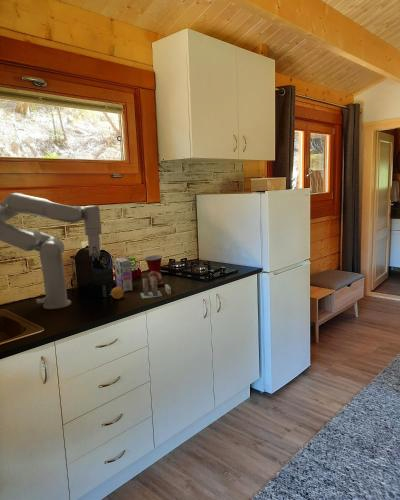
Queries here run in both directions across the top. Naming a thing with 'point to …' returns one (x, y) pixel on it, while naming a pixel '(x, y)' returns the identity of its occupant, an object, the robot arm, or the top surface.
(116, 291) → the ball
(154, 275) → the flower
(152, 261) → the plastic cup
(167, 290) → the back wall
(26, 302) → the top surface
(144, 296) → the pin deck mark
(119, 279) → the candy box
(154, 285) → the back pin near
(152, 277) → the back pin far
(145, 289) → the front pin
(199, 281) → the top surface
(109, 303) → the top surface
